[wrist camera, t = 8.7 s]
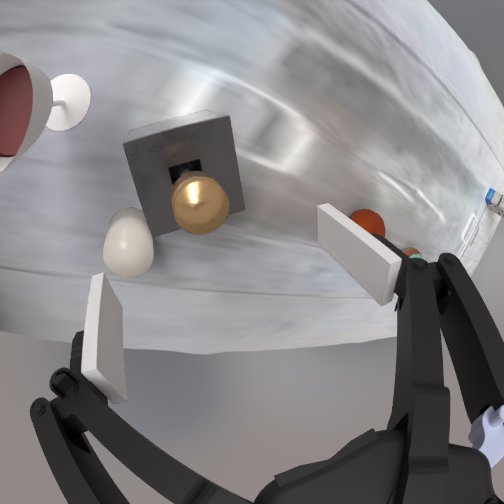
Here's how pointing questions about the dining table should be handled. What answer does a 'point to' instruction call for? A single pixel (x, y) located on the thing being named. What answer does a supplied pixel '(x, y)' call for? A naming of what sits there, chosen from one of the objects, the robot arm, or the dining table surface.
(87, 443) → the robot arm
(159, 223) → the grey block with hole
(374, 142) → the dining table surface
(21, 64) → the wineglass
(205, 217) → the gold knobbed rod
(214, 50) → the dining table surface
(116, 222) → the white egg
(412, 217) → the dining table surface
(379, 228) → the fruit
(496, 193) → the ink box
